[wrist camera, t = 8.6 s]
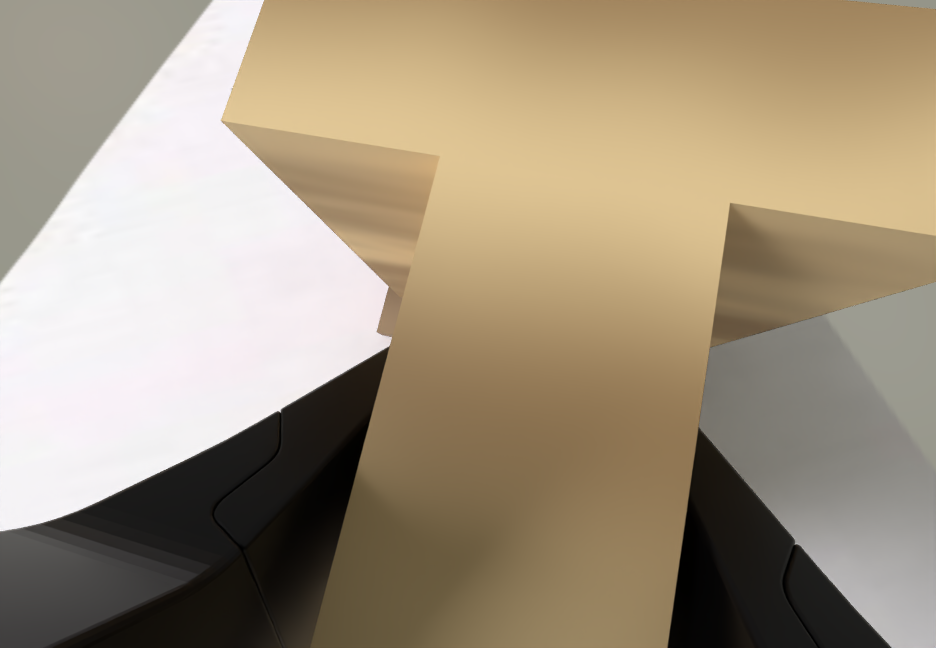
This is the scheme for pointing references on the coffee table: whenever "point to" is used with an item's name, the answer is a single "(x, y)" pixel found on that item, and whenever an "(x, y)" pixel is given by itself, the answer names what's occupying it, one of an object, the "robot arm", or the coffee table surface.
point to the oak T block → (577, 269)
